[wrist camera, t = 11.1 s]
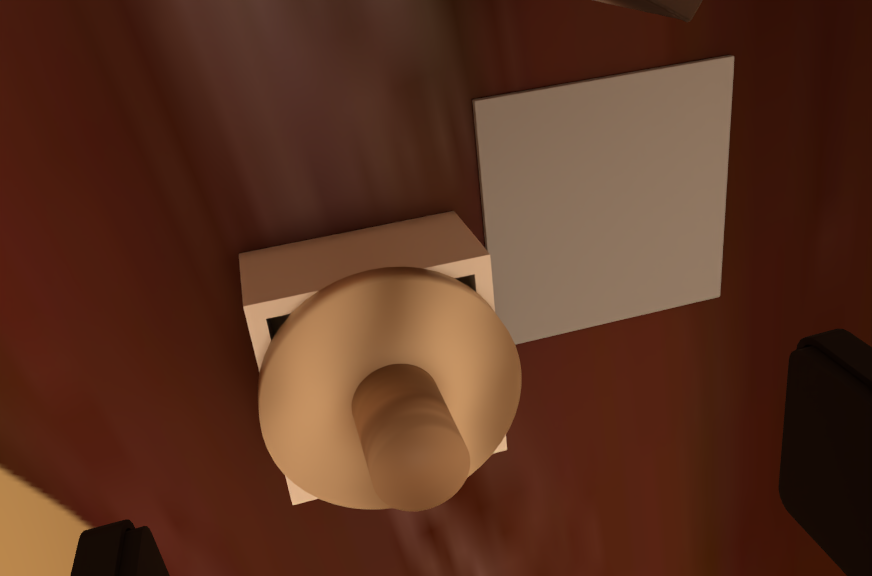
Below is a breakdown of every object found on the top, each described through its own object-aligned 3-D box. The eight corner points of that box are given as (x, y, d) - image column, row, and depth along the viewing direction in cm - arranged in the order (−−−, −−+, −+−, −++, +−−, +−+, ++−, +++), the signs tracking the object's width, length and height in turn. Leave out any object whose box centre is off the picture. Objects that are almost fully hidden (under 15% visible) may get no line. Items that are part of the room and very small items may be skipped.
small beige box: (453, 210, 40) (490, 254, 35) (472, 388, 45) (506, 449, 40) (238, 253, 39) (242, 306, 33) (282, 434, 43) (292, 505, 38)
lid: (500, 241, 35) (556, 304, 29) (519, 454, 40) (569, 542, 35) (229, 299, 33) (233, 379, 27) (287, 516, 38) (300, 620, 33)
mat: (729, 55, 41) (734, 56, 40) (716, 293, 47) (719, 296, 47) (472, 99, 38) (474, 101, 38) (494, 345, 45) (496, 349, 44)
